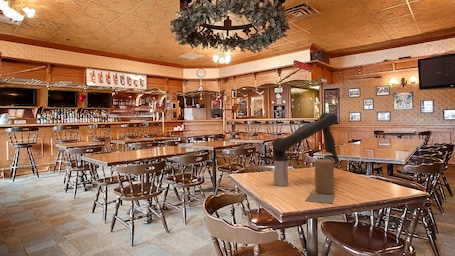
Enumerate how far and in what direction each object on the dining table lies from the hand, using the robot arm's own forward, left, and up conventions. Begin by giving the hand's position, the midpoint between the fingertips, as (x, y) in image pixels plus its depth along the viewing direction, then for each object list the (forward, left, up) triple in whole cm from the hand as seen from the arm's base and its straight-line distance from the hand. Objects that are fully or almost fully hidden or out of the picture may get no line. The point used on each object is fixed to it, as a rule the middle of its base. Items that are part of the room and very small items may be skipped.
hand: (325, 166), depth 172 cm
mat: (0, -22, -15) cm, 26 cm away
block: (0, -6, -15) cm, 16 cm away
